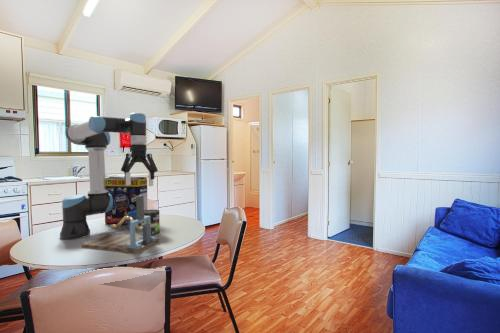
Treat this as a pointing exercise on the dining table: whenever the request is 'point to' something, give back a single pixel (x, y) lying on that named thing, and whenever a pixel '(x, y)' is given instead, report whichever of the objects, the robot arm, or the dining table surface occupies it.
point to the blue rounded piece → (133, 215)
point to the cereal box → (124, 197)
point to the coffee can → (153, 221)
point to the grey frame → (140, 219)
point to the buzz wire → (144, 229)
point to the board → (115, 243)
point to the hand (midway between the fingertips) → (139, 185)
